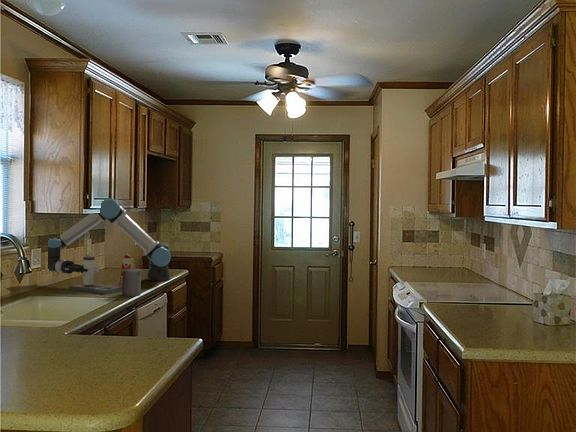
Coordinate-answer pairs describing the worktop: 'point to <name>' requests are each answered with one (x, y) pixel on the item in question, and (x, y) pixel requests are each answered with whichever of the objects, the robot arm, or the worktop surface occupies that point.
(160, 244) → the robot arm
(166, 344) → the worktop surface
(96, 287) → the console
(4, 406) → the worktop surface
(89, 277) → the white bottle
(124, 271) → the pillar candle
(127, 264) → the milk carton
